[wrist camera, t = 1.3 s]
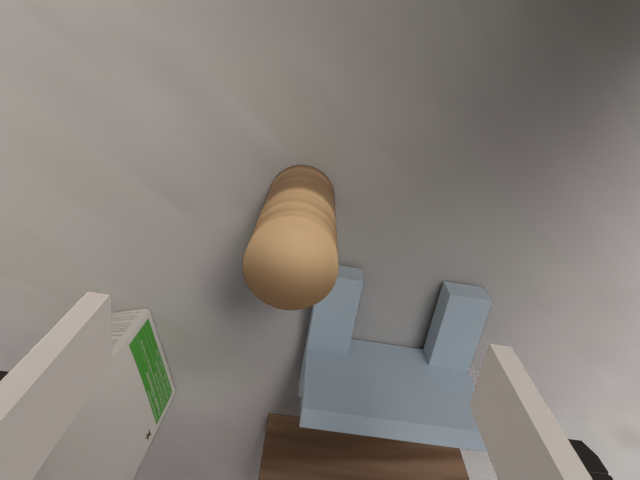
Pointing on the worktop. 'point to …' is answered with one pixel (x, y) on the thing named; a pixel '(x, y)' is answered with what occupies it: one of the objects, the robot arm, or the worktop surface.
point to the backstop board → (351, 456)
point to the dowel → (294, 241)
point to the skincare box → (117, 408)
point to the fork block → (393, 370)
